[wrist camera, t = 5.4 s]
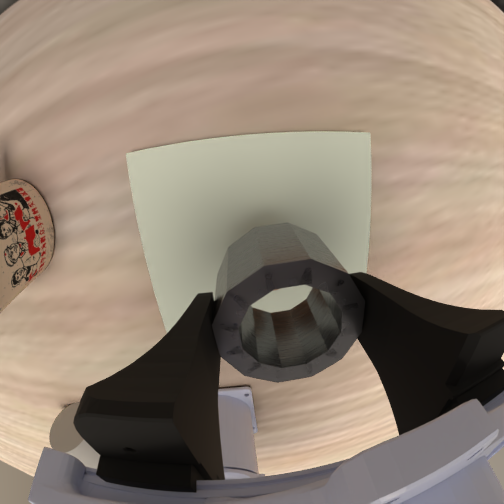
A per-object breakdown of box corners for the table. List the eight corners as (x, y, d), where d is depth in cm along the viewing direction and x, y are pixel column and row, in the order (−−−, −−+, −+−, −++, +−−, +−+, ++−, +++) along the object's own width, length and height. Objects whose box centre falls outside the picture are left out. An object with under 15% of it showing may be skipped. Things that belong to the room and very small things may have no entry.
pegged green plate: (357, 303, 22) (385, 343, 17) (169, 328, 21) (158, 376, 16) (363, 132, 17) (409, 133, 12) (130, 152, 16) (95, 158, 11)
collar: (331, 315, 14) (356, 366, 11) (230, 331, 14) (229, 388, 11) (331, 216, 12) (368, 249, 9) (209, 233, 12) (199, 274, 9)
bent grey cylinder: (197, 471, 31) (109, 405, 24) (184, 525, 22) (74, 479, 14) (120, 457, 36) (43, 393, 28) (104, 498, 27) (15, 441, 19)
